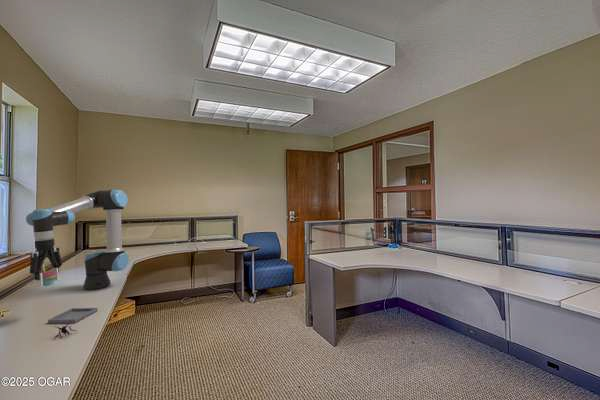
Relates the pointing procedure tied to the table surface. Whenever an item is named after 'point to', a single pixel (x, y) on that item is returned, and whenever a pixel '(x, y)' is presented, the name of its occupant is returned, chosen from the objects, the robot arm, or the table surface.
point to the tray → (73, 315)
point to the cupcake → (48, 277)
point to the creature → (65, 330)
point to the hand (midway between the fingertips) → (48, 282)
